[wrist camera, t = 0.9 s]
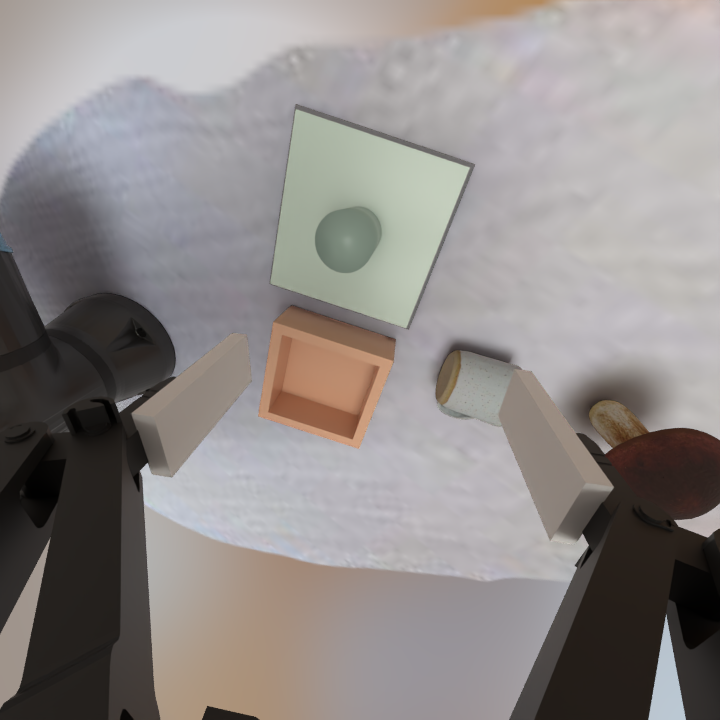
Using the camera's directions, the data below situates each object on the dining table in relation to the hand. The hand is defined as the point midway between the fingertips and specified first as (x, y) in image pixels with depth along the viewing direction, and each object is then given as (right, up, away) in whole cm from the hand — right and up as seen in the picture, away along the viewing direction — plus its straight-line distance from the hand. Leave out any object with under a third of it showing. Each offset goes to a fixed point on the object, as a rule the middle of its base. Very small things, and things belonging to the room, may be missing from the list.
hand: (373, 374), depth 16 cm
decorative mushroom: (+31, -5, +25) cm, 40 cm away
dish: (-5, 0, +28) cm, 28 cm away
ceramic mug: (+14, -2, +26) cm, 29 cm away
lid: (-1, +15, +19) cm, 24 cm away
